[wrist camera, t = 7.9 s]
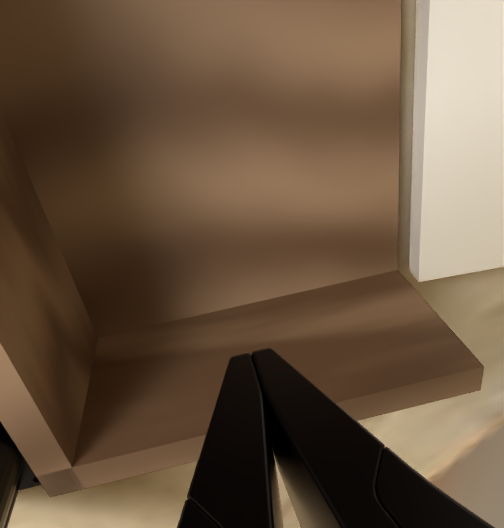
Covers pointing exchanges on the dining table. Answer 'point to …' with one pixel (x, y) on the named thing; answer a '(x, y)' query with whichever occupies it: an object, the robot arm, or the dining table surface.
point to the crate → (199, 223)
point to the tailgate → (457, 139)
